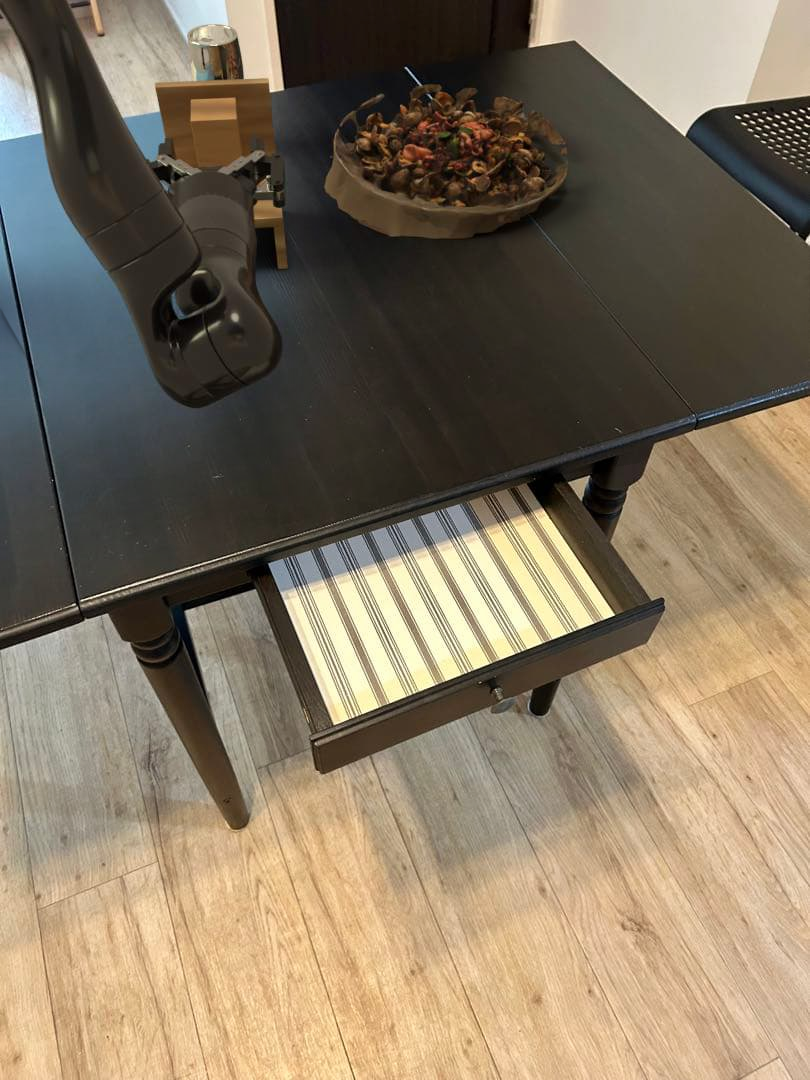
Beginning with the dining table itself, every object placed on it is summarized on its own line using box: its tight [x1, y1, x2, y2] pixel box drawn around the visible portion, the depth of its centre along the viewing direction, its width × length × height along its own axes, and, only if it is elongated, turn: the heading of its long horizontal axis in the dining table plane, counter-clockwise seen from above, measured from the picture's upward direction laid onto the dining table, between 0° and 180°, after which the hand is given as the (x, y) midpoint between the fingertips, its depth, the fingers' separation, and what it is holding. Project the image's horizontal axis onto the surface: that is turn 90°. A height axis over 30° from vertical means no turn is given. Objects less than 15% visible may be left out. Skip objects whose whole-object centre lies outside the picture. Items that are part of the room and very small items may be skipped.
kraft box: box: [191, 98, 243, 167], centre depth 96 cm, size 5×5×10 cm
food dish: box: [323, 84, 569, 240], centre depth 115 cm, size 35×33×8 cm
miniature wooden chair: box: [154, 77, 289, 270], centre depth 99 cm, size 13×13×17 cm
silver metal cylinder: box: [186, 23, 245, 81], centre depth 114 cm, size 7×7×15 cm
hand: (212, 144), depth 85 cm, fingers open, 8 cm apart
